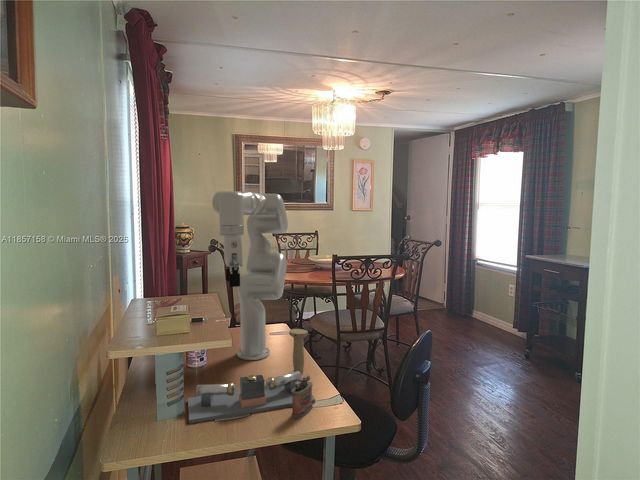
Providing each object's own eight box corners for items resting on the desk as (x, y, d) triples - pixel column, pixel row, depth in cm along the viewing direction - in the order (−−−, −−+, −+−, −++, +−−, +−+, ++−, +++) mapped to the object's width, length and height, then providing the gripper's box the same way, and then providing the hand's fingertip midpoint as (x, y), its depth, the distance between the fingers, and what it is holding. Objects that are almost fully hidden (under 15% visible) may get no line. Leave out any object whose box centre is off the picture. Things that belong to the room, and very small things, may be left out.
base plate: (188, 401, 124) (187, 391, 124) (302, 383, 136) (302, 375, 135) (189, 423, 112) (188, 413, 111) (315, 402, 123) (315, 392, 123)
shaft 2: (271, 402, 123) (271, 381, 122) (265, 397, 126) (265, 376, 126) (302, 393, 129) (302, 372, 128) (295, 388, 132) (295, 368, 132)
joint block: (240, 393, 122) (240, 375, 122) (262, 390, 124) (261, 372, 124) (242, 400, 119) (241, 381, 118) (264, 396, 121) (264, 378, 120)
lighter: (298, 420, 114) (298, 385, 113) (289, 416, 115) (288, 382, 114) (315, 407, 120) (315, 374, 119) (305, 404, 122) (305, 372, 121)
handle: (303, 377, 140) (303, 334, 139) (287, 374, 143) (287, 332, 141) (309, 372, 145) (309, 330, 143) (293, 368, 147) (293, 328, 146)
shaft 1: (235, 402, 123) (235, 380, 123) (233, 409, 119) (233, 386, 119) (198, 403, 123) (198, 381, 122) (195, 410, 119) (195, 387, 118)
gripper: (247, 232, 125) (248, 288, 126) (239, 228, 141) (240, 277, 143) (222, 233, 122) (223, 289, 124) (217, 228, 138) (218, 279, 140)
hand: (232, 283), depth 133 cm, fingers open, 9 cm apart
